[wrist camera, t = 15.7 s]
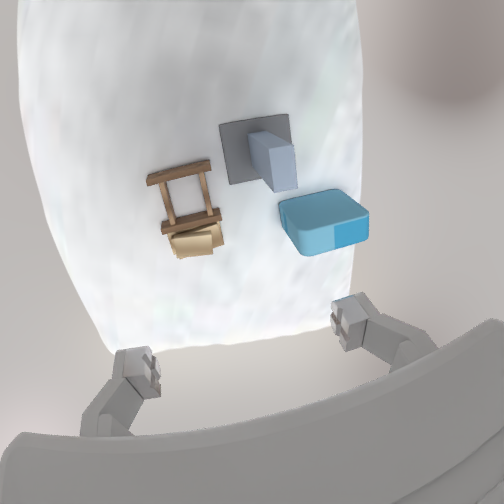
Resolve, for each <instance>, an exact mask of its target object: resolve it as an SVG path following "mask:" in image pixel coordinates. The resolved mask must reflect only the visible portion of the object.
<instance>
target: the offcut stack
mask: <svg viewBox="0 0 504 504" xmlns="http://www.w3.org/2000/svg"><path fill="white" fill-rule="evenodd" d="M167 235H168V238H169V241H170V244H171V248H172V251H173V254H174V255H175V254H176V256H177V258H180V259H183V258H186V257H192V256H201V255H210V254H213V248H215V247H218V246H221V245H224V241H223V236H222V232H221V227H220V223H219V221H218V222H213V223H209V224H205V225H201V226H196V227H192V228H188V229H184V230H180V231H176V232H172V233H168V234H167Z"/></svg>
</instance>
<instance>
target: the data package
mask: <svg viewBox="0 0 504 504" xmlns="http://www.w3.org/2000/svg"><path fill="white" fill-rule="evenodd" d="M279 208H280V214H281V221H282V227H283V229H284V230H285V232H286V233H287V235H288V236H289V238H290V239H291V241H292V242H293V244H294V245H295V247H296V248H297V250H298V251H299V253H300V254H301V255H303V256H314V255H318V254H321V253H325V252H328V251H331V250H335V249H338V248H342V247H345V246H349V245H352V244H355V243H359V242H362V241H365V240H367V239H368V236H369V212H368V211H367V210H366V209H365V208H364V207H362V206H361V205H360V204H359V203H357V202H356V201H355V200H353V199H352V198H351V197H349V196H348V195H347V194H345V193H344V192H343V191H341V190H337V189H333V190H327V191H323V192H319V193H314V194H310V195H305V196H301V197H297V198H293V199H288V200H285V201H282V202H281V203H280V204H279Z"/></svg>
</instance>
